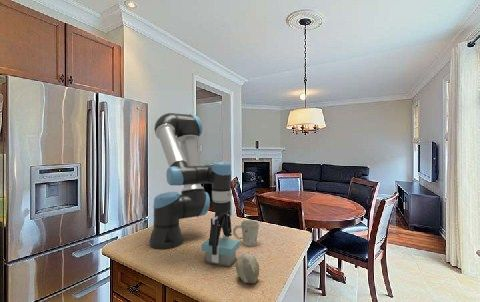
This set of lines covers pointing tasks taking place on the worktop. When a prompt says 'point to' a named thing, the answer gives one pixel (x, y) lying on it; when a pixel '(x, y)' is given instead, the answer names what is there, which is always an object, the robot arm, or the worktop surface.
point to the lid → (222, 246)
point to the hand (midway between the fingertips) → (220, 256)
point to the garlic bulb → (247, 268)
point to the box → (221, 259)
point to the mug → (248, 232)
